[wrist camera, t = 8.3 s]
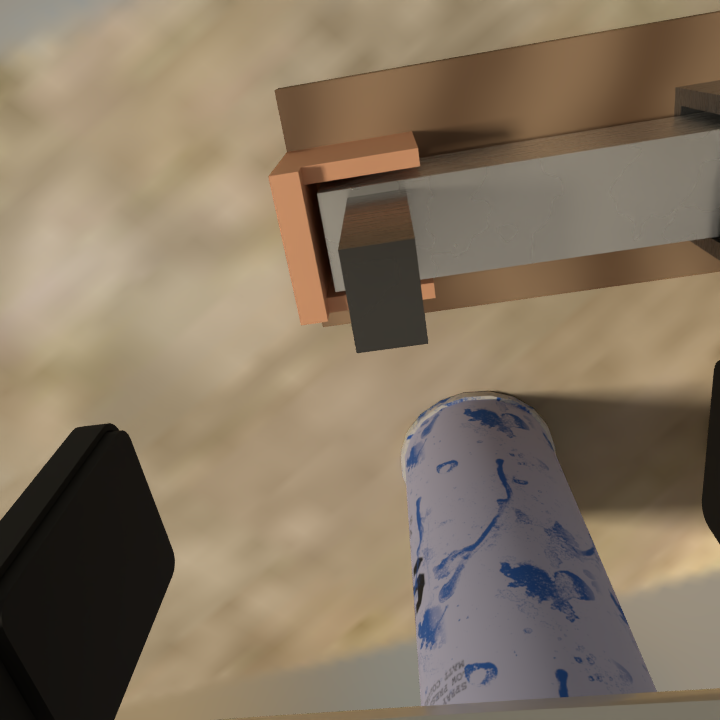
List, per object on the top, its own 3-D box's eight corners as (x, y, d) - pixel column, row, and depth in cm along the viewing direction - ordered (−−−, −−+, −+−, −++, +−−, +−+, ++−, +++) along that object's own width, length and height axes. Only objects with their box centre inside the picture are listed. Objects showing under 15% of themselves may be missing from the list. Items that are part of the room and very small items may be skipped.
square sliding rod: (746, 104, 24) (954, 144, 15) (736, 201, 25) (921, 287, 17) (324, 173, 25) (297, 244, 17) (340, 261, 27) (323, 367, 18)
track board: (1013, -41, 23) (1038, -44, 22) (946, 230, 28) (965, 237, 27) (278, 88, 26) (274, 90, 25) (324, 318, 30) (322, 326, 29)
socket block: (411, 131, 25) (419, 151, 21) (427, 262, 28) (437, 305, 23) (287, 151, 26) (268, 176, 21) (313, 279, 28) (301, 325, 24)
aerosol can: (385, 407, 32) (397, 873, 14) (544, 376, 31) (770, 835, 13) (416, 527, 36) (457, 1025, 18) (561, 503, 35) (758, 1003, 17)
